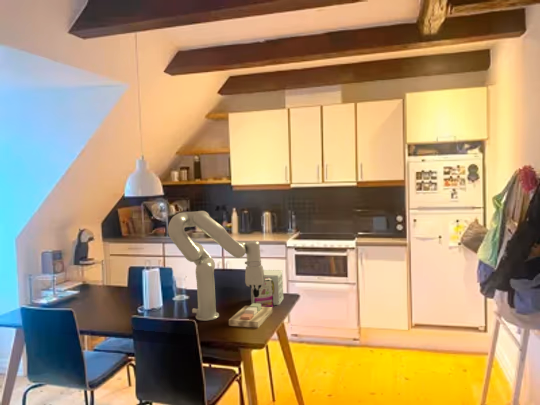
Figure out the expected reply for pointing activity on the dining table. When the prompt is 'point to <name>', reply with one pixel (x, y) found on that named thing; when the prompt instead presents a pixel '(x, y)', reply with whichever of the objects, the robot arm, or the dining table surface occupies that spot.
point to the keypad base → (254, 322)
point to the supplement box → (274, 285)
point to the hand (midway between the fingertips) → (256, 296)
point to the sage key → (256, 306)
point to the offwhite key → (251, 310)
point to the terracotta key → (246, 316)
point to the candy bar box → (265, 294)
